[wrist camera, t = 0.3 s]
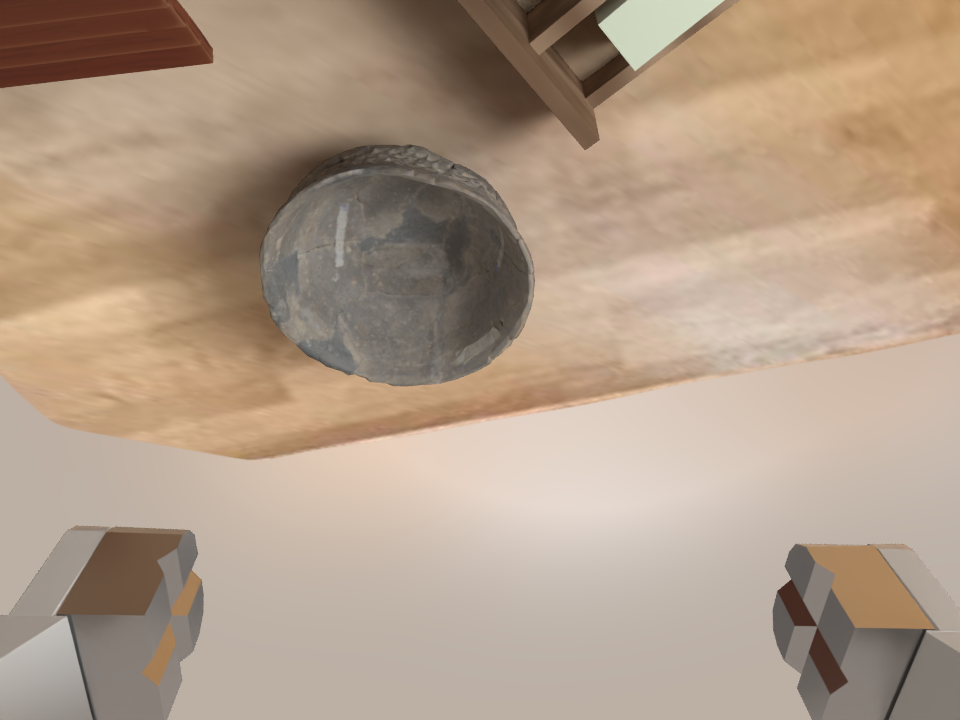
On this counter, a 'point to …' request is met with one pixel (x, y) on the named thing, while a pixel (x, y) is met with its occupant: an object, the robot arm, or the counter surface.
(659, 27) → the sage offcut
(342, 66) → the counter surface
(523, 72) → the wooden tray
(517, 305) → the bowl
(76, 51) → the house
